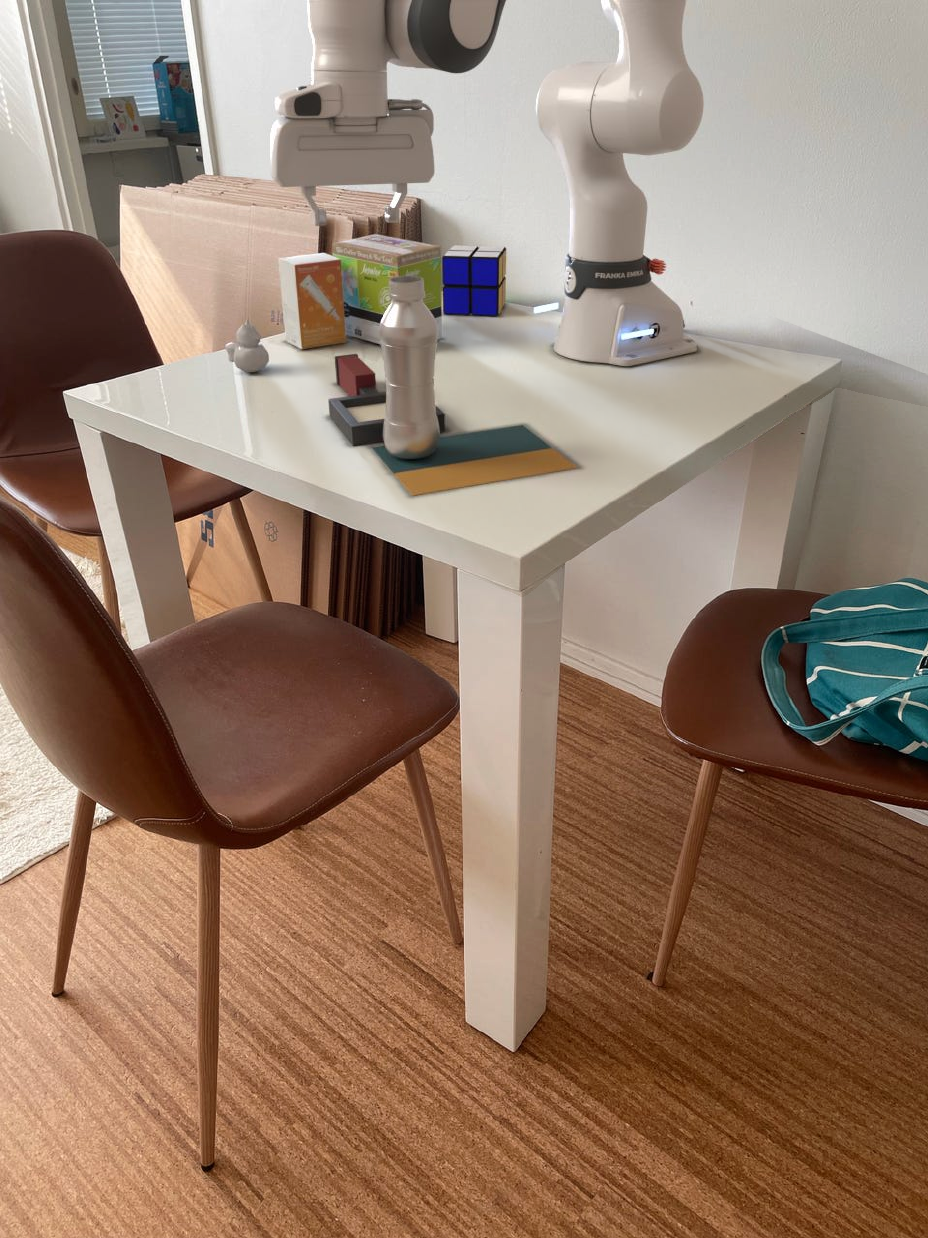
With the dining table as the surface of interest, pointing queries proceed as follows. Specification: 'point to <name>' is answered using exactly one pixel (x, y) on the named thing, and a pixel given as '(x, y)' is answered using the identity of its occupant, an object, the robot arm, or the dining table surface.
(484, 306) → the puzzle cube
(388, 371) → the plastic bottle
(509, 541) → the dining table surface
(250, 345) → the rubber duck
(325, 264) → the small box
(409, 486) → the mat
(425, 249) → the tea box
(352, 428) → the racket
